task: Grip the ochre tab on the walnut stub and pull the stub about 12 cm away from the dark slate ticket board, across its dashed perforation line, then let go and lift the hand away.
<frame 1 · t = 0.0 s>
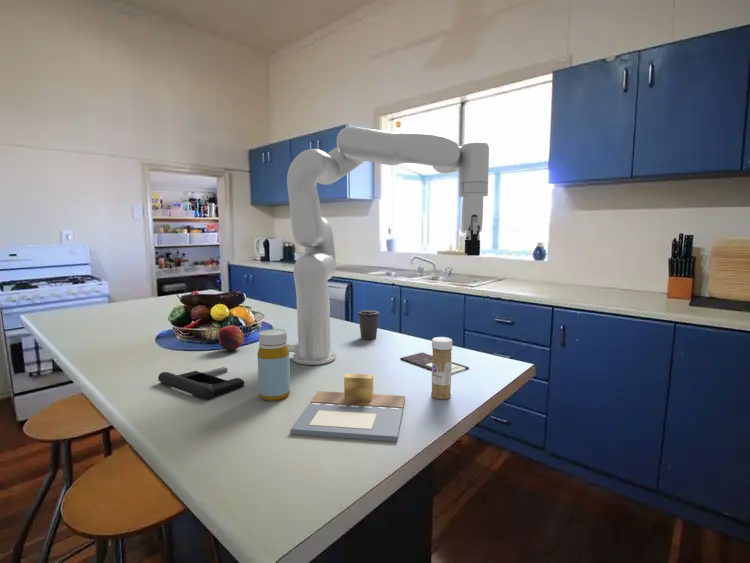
hand: (471, 254, 112), 31 cm above the countertop, tool pointing down, fingers open, 9 cm apart
fruit: (231, 351, 131), on the countertop
sprinkles bottle: (441, 397, 94), on the countertop
coffee cup: (368, 338, 146), on the countertop
stub: (358, 389, 90), point 3 cm above the countertop, slide at 0.0 cm
chocolate bar: (433, 366, 117), on the countertop
bottle: (274, 396, 95), on the countertop
ticket: (349, 422, 81), on the countertop
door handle: (206, 386, 103), on the countertop
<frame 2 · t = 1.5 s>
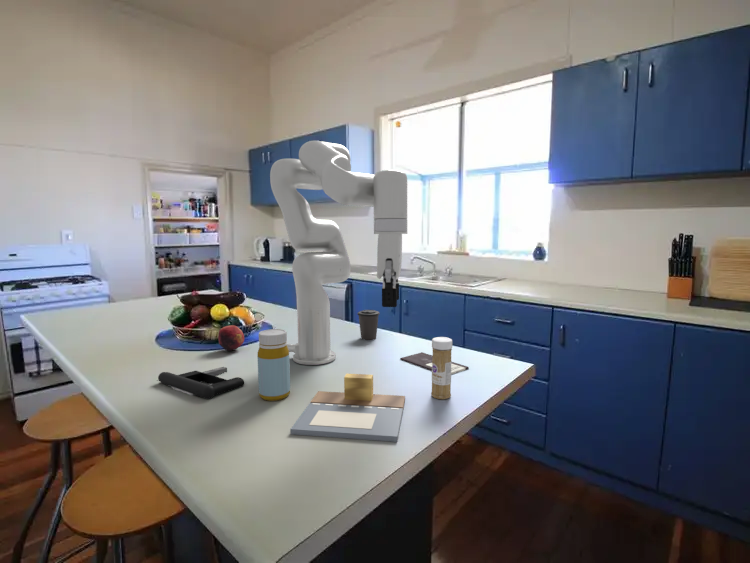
hand: (390, 303, 94), 21 cm above the countertop, tool pointing down, fingers open, 9 cm apart
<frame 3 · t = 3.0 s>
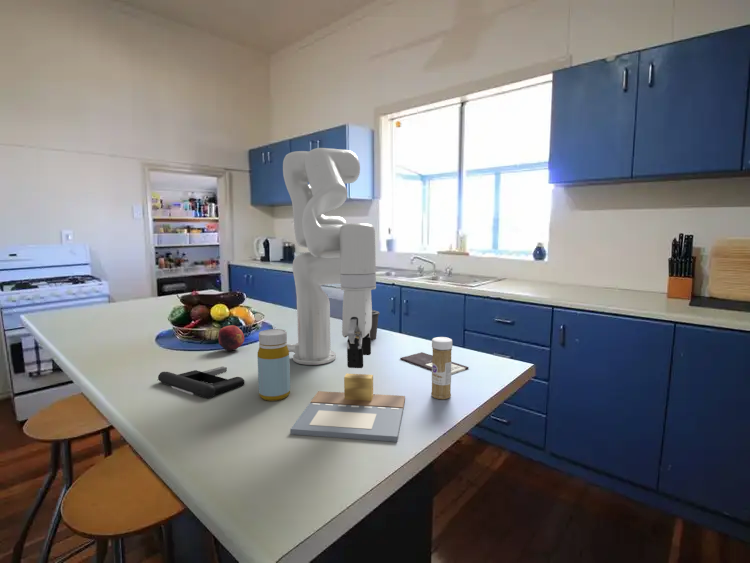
hand: (359, 360, 89), 10 cm above the countertop, tool pointing down, fingers open, 9 cm apart
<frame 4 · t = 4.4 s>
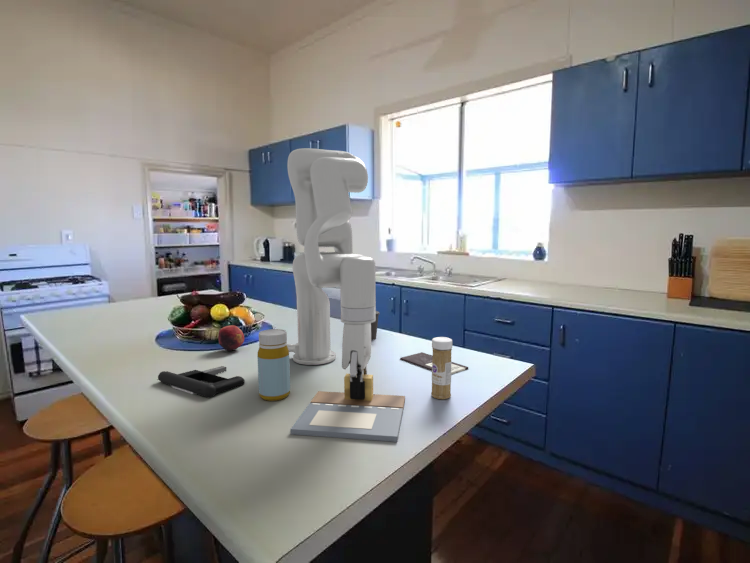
hand: (358, 395, 90), 2 cm above the countertop, tool pointing down, fingers closed on stub, 2 cm apart
stub: (358, 389, 90), point 3 cm above the countertop, slide at 0.0 cm, touching gripper
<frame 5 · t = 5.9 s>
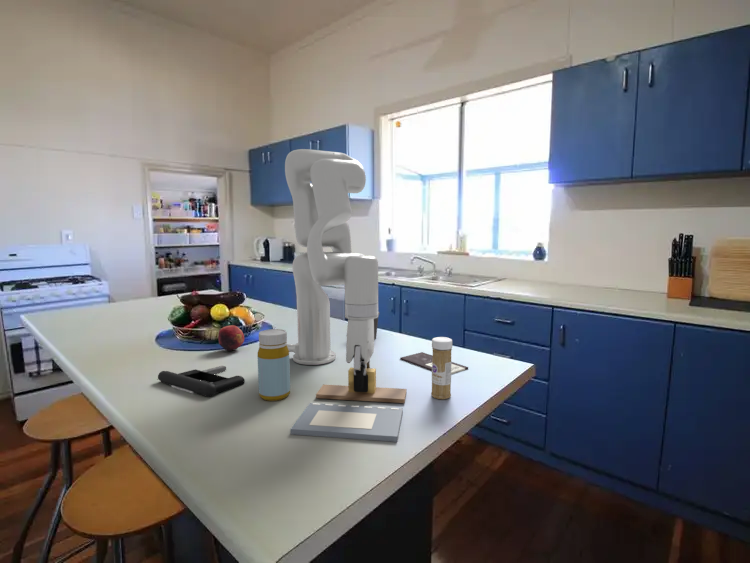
hand: (362, 388, 95), 2 cm above the countertop, tool pointing down, fingers closed on stub, 2 cm apart
stub: (361, 382, 94), point 3 cm above the countertop, slide at 4.2 cm, touching gripper
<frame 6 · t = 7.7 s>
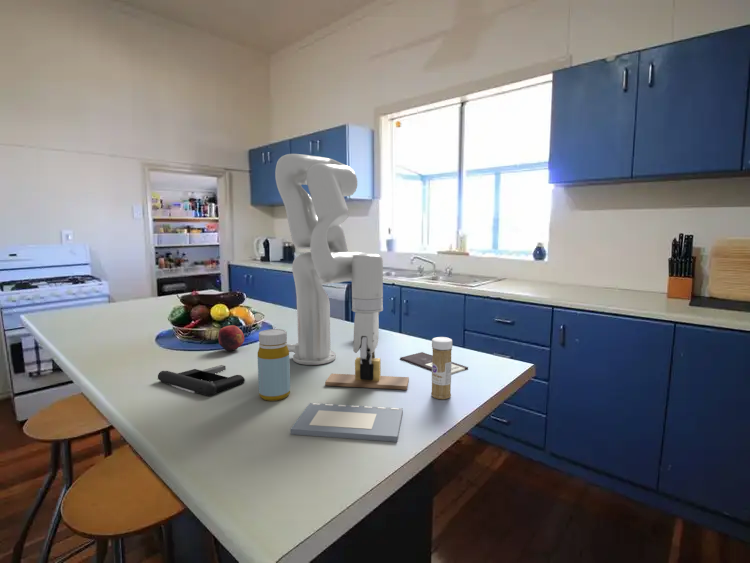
hand: (367, 376, 102), 2 cm above the countertop, tool pointing down, fingers closed on stub, 2 cm apart
stub: (367, 371, 102), point 3 cm above the countertop, slide at 12.0 cm, touching gripper
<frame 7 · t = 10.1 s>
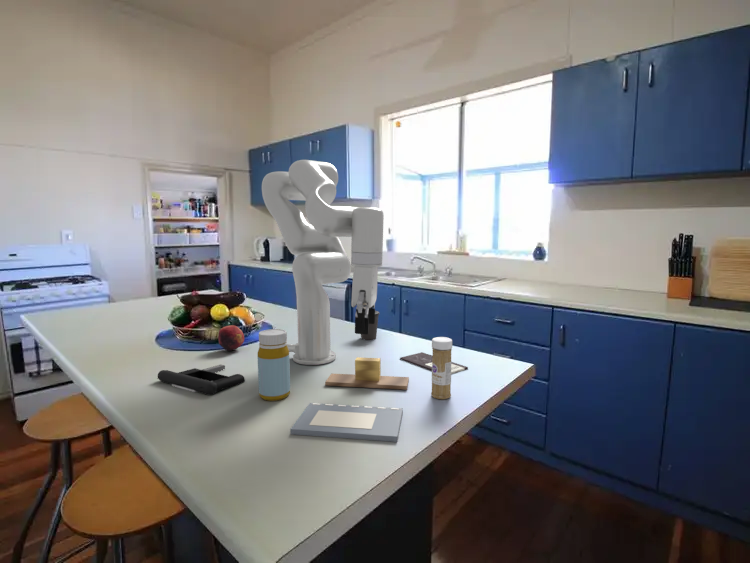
hand: (365, 328, 102), 14 cm above the countertop, tool pointing down, fingers open, 9 cm apart
stub: (367, 371, 102), point 3 cm above the countertop, slide at 12.0 cm
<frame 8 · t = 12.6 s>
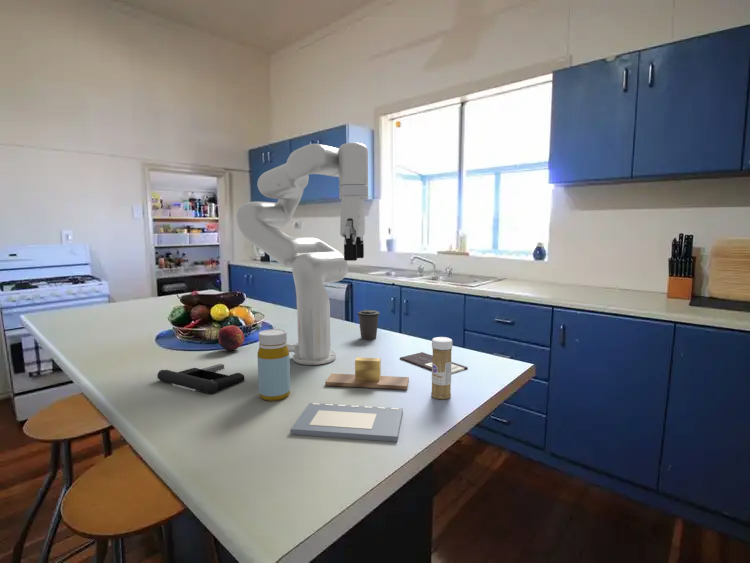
hand: (354, 259, 109), 30 cm above the countertop, tool pointing down, fingers open, 9 cm apart
at the end: stub slide at 12.0 cm; the gripper is holding nothing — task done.
